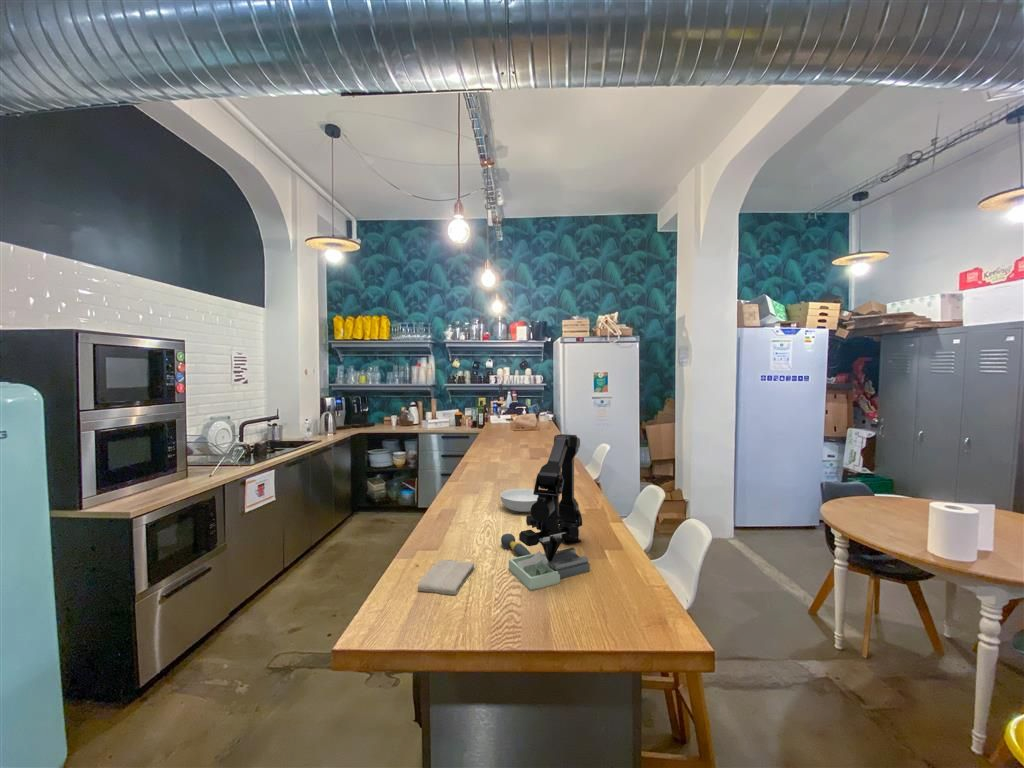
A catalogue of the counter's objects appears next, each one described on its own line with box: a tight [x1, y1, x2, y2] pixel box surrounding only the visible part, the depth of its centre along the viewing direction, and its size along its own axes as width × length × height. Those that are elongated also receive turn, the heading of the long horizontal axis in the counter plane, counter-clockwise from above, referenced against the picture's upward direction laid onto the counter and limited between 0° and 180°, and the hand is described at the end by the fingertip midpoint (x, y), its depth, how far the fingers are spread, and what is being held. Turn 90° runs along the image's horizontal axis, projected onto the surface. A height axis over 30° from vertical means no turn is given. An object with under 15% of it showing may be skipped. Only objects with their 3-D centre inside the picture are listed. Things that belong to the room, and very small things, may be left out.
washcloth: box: [417, 558, 475, 596], centre depth 126 cm, size 12×18×3 cm, turn 168°
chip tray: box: [508, 553, 561, 592], centre depth 128 cm, size 10×14×4 cm
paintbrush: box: [500, 533, 532, 557], centre depth 145 cm, size 20×5×5 cm, turn 37°
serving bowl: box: [500, 488, 538, 513], centre depth 191 cm, size 21×21×7 cm
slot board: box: [542, 547, 591, 580], centre depth 133 cm, size 12×10×4 cm
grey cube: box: [530, 551, 551, 575], centre depth 129 cm, size 4×4×4 cm
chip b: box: [518, 559, 536, 577], centre depth 127 cm, size 4×4×4 cm
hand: (549, 560), depth 130 cm, fingers closed
